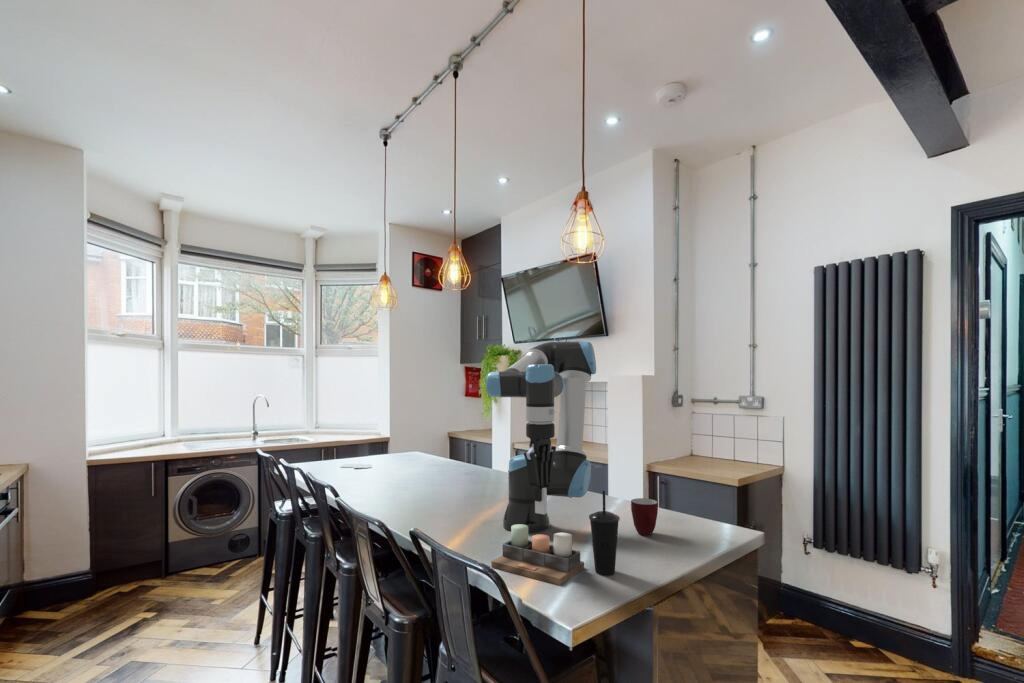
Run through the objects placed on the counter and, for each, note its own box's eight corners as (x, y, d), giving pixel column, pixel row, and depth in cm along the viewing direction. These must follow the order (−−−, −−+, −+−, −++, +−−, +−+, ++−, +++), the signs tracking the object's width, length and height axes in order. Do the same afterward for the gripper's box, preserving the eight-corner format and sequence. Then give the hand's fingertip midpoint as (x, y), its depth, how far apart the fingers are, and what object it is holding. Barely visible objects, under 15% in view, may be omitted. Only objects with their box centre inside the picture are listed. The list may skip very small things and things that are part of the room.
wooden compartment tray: (491, 567, 129) (491, 549, 130) (518, 552, 140) (519, 536, 140) (560, 585, 118) (559, 565, 119) (584, 567, 129) (584, 549, 129)
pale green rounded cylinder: (507, 546, 134) (507, 527, 134) (517, 542, 137) (517, 523, 138) (522, 550, 131) (522, 530, 131) (531, 545, 135) (531, 526, 135)
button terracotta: (528, 557, 130) (528, 538, 130) (537, 552, 134) (537, 533, 134) (543, 561, 127) (543, 541, 128) (552, 556, 131) (552, 536, 132)
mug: (668, 539, 152) (667, 505, 152) (644, 541, 149) (643, 507, 150) (649, 529, 162) (648, 497, 162) (626, 531, 159) (626, 499, 160)
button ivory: (550, 556, 126) (550, 536, 127) (559, 551, 130) (559, 531, 131) (566, 560, 124) (566, 539, 124) (575, 554, 128) (574, 534, 128)
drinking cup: (586, 566, 130) (585, 487, 131) (615, 565, 130) (614, 487, 132) (593, 578, 122) (592, 494, 124) (624, 577, 123) (623, 494, 124)
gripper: (539, 425, 125) (540, 521, 124) (564, 421, 136) (565, 509, 135) (514, 423, 130) (515, 516, 128) (540, 419, 140) (541, 505, 139)
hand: (540, 512), depth 132 cm, fingers closed
